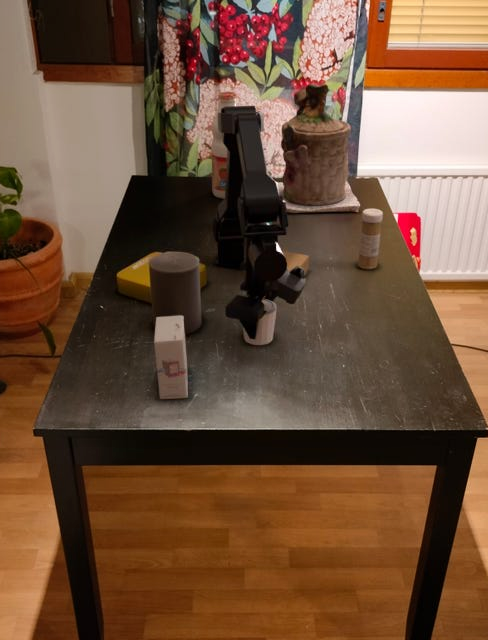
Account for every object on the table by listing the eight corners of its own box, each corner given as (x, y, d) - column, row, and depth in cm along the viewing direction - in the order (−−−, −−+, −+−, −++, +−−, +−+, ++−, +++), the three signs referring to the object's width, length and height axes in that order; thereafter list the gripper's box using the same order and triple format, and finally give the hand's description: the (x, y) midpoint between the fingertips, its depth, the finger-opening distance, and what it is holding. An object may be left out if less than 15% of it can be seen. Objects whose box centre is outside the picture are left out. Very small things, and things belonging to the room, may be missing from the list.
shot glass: (272, 348, 135) (273, 316, 132) (237, 344, 136) (237, 312, 133) (278, 330, 141) (279, 299, 137) (244, 327, 142) (245, 295, 138)
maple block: (251, 282, 159) (251, 265, 157) (267, 264, 167) (267, 248, 165) (294, 289, 156) (294, 273, 154) (307, 271, 164) (308, 255, 162)
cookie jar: (346, 184, 215) (356, 71, 198) (362, 214, 194) (374, 92, 177) (265, 184, 214) (267, 71, 196) (272, 215, 193) (275, 92, 176)
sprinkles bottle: (371, 260, 169) (377, 206, 162) (380, 268, 166) (386, 213, 158) (353, 263, 168) (359, 209, 160) (362, 271, 164) (368, 216, 157)
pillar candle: (163, 340, 137) (158, 270, 129) (146, 318, 145) (140, 250, 137) (209, 329, 141) (207, 260, 133) (190, 308, 149) (187, 241, 140)
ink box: (159, 372, 128) (155, 314, 122) (187, 371, 129) (184, 313, 122) (158, 400, 121) (153, 340, 115) (187, 398, 121) (184, 339, 115)
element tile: (156, 267, 165) (155, 248, 162) (210, 282, 159) (209, 263, 156) (114, 292, 154) (112, 272, 151) (170, 310, 148) (169, 289, 145)
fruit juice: (232, 186, 212) (232, 88, 197) (251, 195, 206) (252, 94, 191) (206, 192, 207) (203, 92, 192) (223, 202, 201) (222, 99, 186)
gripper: (284, 286, 120) (281, 363, 128) (317, 244, 134) (312, 316, 143) (223, 275, 123) (224, 351, 132) (261, 235, 138) (260, 306, 146)
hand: (258, 331), depth 138 cm, fingers closed on shot glass, 6 cm apart
